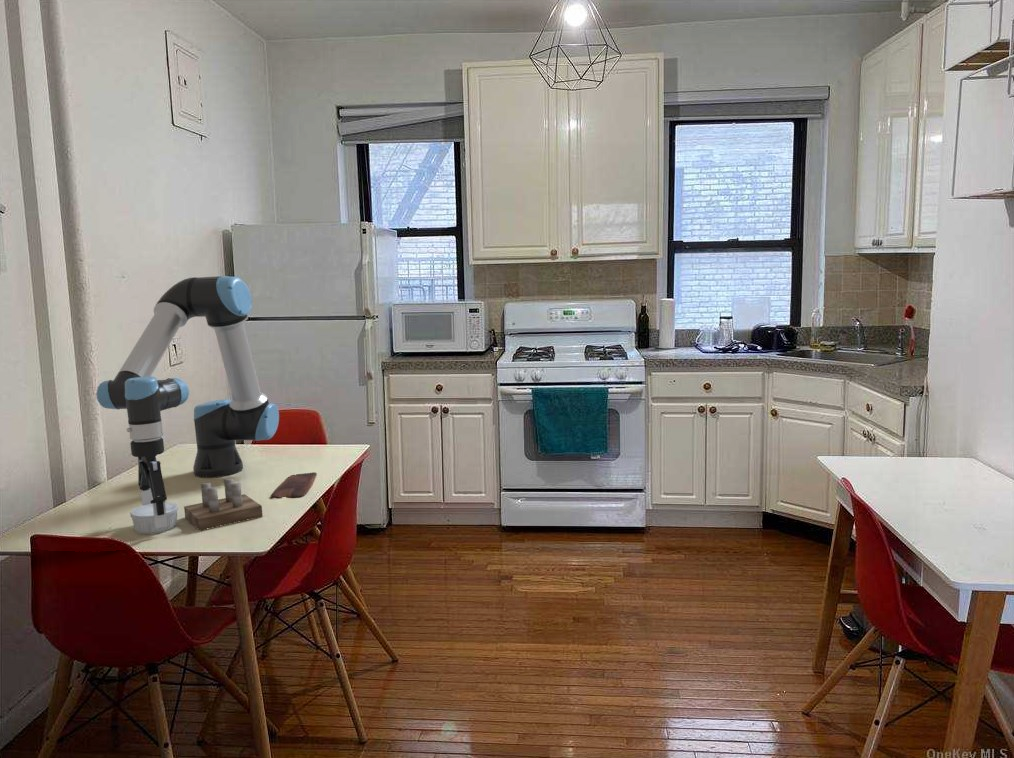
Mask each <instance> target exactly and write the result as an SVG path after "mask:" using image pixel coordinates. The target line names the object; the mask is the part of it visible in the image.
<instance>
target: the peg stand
mask: <svg viewBox="0 0 1014 758" xmlns="http://www.w3.org/2000/svg"><path fill="white" fill-rule="evenodd" d="M234 481H235V480H234V478H233V477H231V478H225V479H224V480H223V484H224V485H223V486H224V493H225V495H224V496H225V497H224V498H220V499H219V496H218V495H219V494H218V487H215V486H214V487H212V485H211V482H203V483H200V490H201V491H200V492H201V499H202V502H200V503H196V504H189V505H184V506H183V511H184V518H185V519H186V520H187V521H188V520H189V521H188V522H189V523H190V524H191V525H192V526H194V527H195V528H196V529H197V528H198V529H199V530H201V531H204V530H203V529H205V530H208V529H207V528H210V529H213V528H212V527H214V528H217V527H216V526H219V527H221V526H220V525H223V526H225V525H224V524H228V525H230V524H229V523H232V524H235V523H234V522H237V523H239V522H238V521H241V522H244V521H243V520H246V521H248V520H247V519H250V520H252V519H251V518H255V519H258V517H259V518H263V507H262V506H263V505H262V504H260V503H258V502H257V501H255V500H254V499H252V498H251V497H249V496H248V495H247V494H243V493H242V485H241V482H234ZM198 529H197V530H198ZM199 530H198V531H199Z"/></svg>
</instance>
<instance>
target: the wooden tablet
mask: <svg viewBox="0 0 1014 758" xmlns="http://www.w3.org/2000/svg"><path fill="white" fill-rule="evenodd" d="M316 478H317V472H315V471H314V472H307V473H306V472H305V473H298V474H297V473H296V475H295V474H291V475H289V476H287V477H286V478H285V479H284V481H282V482H281V483H280V484H279V485H278V486H277V487H276V488H275V489H274V491H272V493H271V495H270V498H271V499H272V498H277V499H283V498H282V497H286V499H296V498H297V499H298V498H302V497H303V498H304V496H305V495H306V494H307V493H308V492H309V491H310V489H311V488H312V486H313V484H314V483H315V480H316Z"/></svg>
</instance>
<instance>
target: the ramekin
mask: <svg viewBox="0 0 1014 758" xmlns="http://www.w3.org/2000/svg"><path fill="white" fill-rule="evenodd" d="M165 507H166V517H167V526H166V527H161V528H155V523H154V513H153V504H147V505H143V506H142V505H140V506H137V507H134V508H132V510H131V511H130V512H129V513H130V516H129V517H130V518H131V520H132V523H133V527H134V529H135V531H136V532H137V533H138V534H142V535H153V534H160V532H161V533H164V531H165V532H167V530H168V531H170V530H172V529H174V528H175V527H174V526H176V525H177V523H178V522H177V521H178V511H179V505H178V504H176V503H175V502H167V501H165ZM173 527H174V528H173ZM169 529H170V530H169Z"/></svg>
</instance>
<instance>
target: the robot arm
mask: <svg viewBox="0 0 1014 758" xmlns="http://www.w3.org/2000/svg"><path fill="white" fill-rule="evenodd" d="M252 302H253V300H252V295H251V292H250V288H249V286H248V285H247V284H246V283H245V281H244V280H242V279H241V278H240V277H238V276H227V275H222V276H221V275H220V276H203V277H195V276H194V277H188V278H184V279H182V280H180V281H178V282H177V283H175V284H174V285H172V286H171V287H170V288H169V289H168V290H167V291H165V293H163V295H161V297H160V298H159V299H158V301H157V302H156V304H155V305H154V307H153V314H154V315H153V316H152V318H151V319H150V321H149V322H148V324H147V326H146V327H145V328H144V330H143V332H142V333H141V335H140V337H139V338H138V340H137V342H136V344H135V345H134V347H133V348H132V349H131V351H130V353H129V355H128V356H127V358H126V360H125V361H124V363H123V365H121V367H120V369H119V371H118V372H117V374H116V376H115V377H114V379H113V380H112V379H109V380H104V381H102V382H101V383H99V384H98V386H97V389H96V400H97V403H98V404H99V405H100V406H101V407H102V408H103V409H111V410H126V412H127V418H128V419H127V423H128V427H127V428H126V432H127V433H129V438H130V440H131V441H130V454H131V456H133V457H135V458H137V462H138V468H137V469H138V471H137V472H138V475H137V478H138V479H137V485H138V487H139V489H140V497H141V504H142V505H141V506H143V505H147V504H153V513H154V523H155V528H161V527H166V526H167V517H166V507H165V502H166V501H167V499H168V496H167V493H166V489H165V483H164V479H163V478H164V477H163V473H162V469H161V468H162V467H161V466H162V465H161V461H160V460H157V456H158V455H161V454H163V453H164V452H165V445H164V439H163V438H162V436H164V432H163V423H162V417H161V412H162V411H166V410H169V409H173V408H177V407H179V406H181V405H183V404H185V402H187V400H188V398H189V396H190V390H189V386H188V385H187V383H186V382H185V380H183V379H181V378H177V377H174V378H173V377H172V378H165V379H157V378H156V377H155V376H152V375H153V373H154V372H155V370H156V368H157V366H158V365H159V363H160V361H161V360H162V358H163V357H164V354H165V353H166V351H167V349H168V348H169V346H170V345H171V343H172V341H173V339H174V337H175V336H176V334H177V332H178V331H179V329H180V328H182V327H184V326H185V325H186V324H187V323H188V321H189V320H190V319H192V318H196V317H198V318H199V317H201V318H202V317H203V318H205V319H206V323H207V326H208V327H210V328H212V329H213V330H214V332H215V336H216V340H217V344H218V348H219V352H220V354H221V355H220V356H221V360H222V363H223V366H224V371H225V374H226V378H227V381H228V385H229V389H230V392H231V396H232V399H230V398H224V399H218V400H212V401H207V402H203V403H200V404H197V405H195V407H194V408H193V421H194V430H195V440H196V449H197V450H196V456H195V457H194V458H195V459H194V462H193V467H192V469H193V470H192V472H193V475H194V476H195V477H197V476H199V477H198V478H217V477H218V476H220V477H225V475H226V476H230V474H231V475H234V474H237V473H239V471H240V472H241V471H242V469H243V470H244V465H243V464H244V463H243V460H242V458H241V455H240V454H239V451H238V449H237V446H236V441H256V442H257V441H267V440H270V439H272V438H273V437H274V435H275V434H276V432H277V430H278V427H279V421H280V411H279V408H278V405H276V404H275V403H272V402H270V403H269V399H268V395H266V394H265V393H264V392H261V387H260V383H259V378H258V375H257V372H256V371H257V370H256V367H255V364H254V359H253V355H252V354H253V353H252V351H251V347H250V346H251V345H250V344H249V342H250V341H249V338H248V334H247V331H246V330H247V329H246V327H245V322H247V320H248V314H249V313H250V312H251V311H252V310H251V309H252V307H253V306H252ZM218 478H219V477H218Z"/></svg>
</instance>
